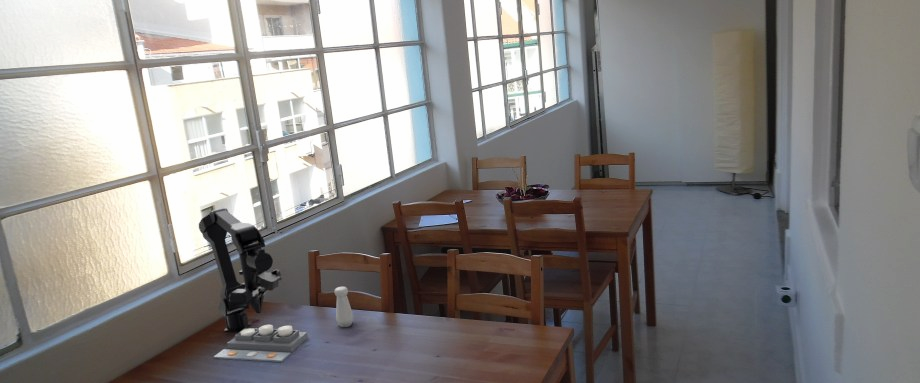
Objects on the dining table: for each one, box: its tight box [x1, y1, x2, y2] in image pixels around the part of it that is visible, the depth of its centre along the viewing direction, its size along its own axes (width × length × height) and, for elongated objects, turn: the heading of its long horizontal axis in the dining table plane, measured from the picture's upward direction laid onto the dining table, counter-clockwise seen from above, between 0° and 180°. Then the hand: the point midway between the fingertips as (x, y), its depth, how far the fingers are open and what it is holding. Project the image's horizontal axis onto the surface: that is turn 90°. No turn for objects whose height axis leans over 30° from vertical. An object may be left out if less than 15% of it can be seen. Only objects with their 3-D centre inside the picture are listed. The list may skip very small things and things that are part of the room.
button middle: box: [258, 324, 274, 336], centre depth 219 cm, size 4×4×2 cm
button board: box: [226, 327, 309, 353], centre depth 220 cm, size 23×10×4 cm, turn 73°
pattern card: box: [213, 348, 292, 363], centre depth 212 cm, size 24×5×1 cm, turn 73°
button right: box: [277, 325, 294, 337], centre depth 217 cm, size 4×4×2 cm
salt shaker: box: [334, 286, 355, 328], centre depth 228 cm, size 6×6×13 cm
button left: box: [241, 329, 255, 336], centre depth 222 cm, size 4×4×2 cm
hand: (259, 313), depth 218 cm, fingers closed
